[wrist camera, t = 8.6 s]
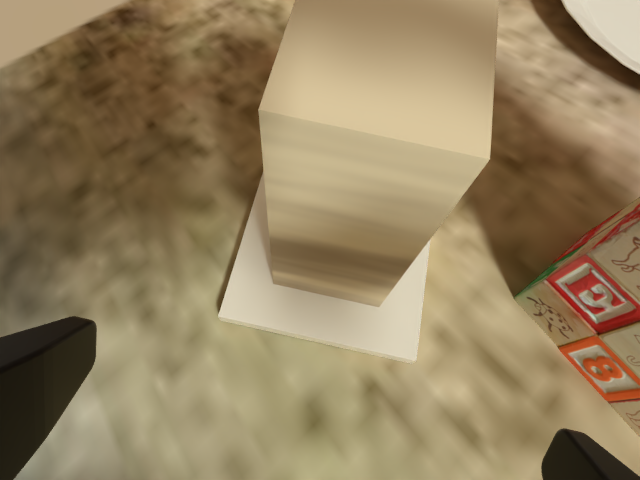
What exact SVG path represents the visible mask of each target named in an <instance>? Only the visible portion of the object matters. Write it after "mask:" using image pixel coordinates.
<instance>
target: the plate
mask: <svg viewBox="0 0 640 480" xmlns="http://www.w3.org/2000/svg"><path fill="white" fill-rule="evenodd" d="M561 1H562V3H563V5H564V7H565V9H566V11H567V12H568V13H569V14H570V15H571V16H572V18H573V19H574V20H575V21H576V22H577V24H578V25H579V26H580V27H581V28H582V29H583V31H584V32H585V33H586V34H587V35H588V36H589V38H591V39H592V40H593V41H594V42H595V43H597V44H598V45H599V46H600V47H602V48H603V49H604V50H605V51H606V52H608V53H609V54H610V55H611V56H612V57H614V58H615V59H616V60H617V61H619V62H620V63H621V64H622V65H624V66H626V67H628V68H629V69H631V70H633V71H634V72H636V73H638V74H640V0H561Z"/></svg>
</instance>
